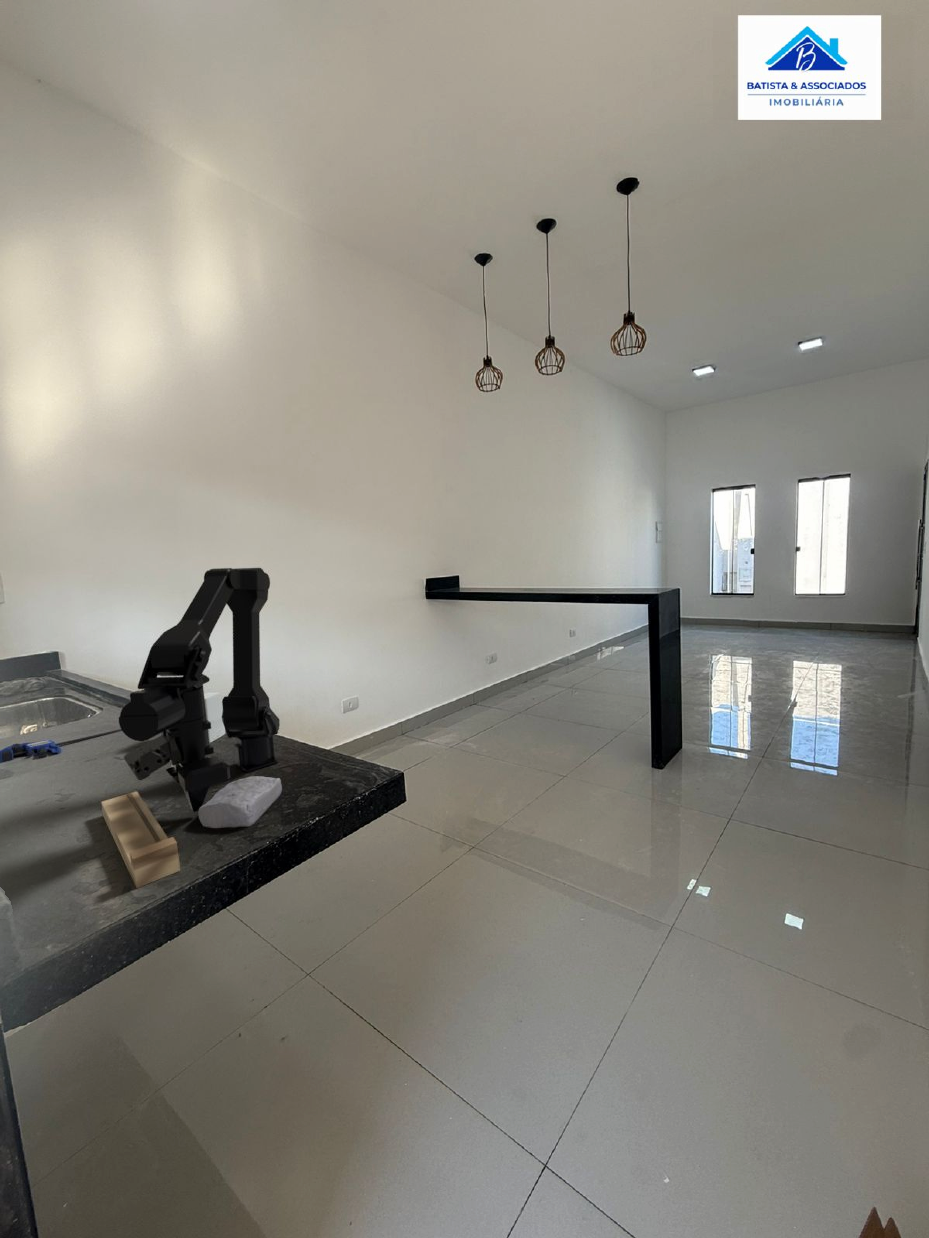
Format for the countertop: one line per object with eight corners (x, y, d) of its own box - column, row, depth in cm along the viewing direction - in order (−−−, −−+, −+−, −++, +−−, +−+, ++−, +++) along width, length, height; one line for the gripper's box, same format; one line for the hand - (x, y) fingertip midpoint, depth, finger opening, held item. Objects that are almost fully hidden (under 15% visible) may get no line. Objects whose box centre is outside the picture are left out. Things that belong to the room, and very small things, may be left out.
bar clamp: (3, 758, 104) (-7, 748, 110) (4, 769, 104) (-5, 759, 110) (171, 720, 129) (155, 713, 135) (171, 729, 129) (156, 722, 136)
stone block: (195, 839, 78) (255, 827, 77) (187, 810, 78) (246, 798, 77) (236, 804, 90) (288, 793, 89) (229, 778, 90) (281, 768, 89)
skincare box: (226, 733, 120) (222, 691, 119) (210, 743, 114) (205, 699, 113) (186, 733, 122) (181, 691, 120) (167, 743, 115) (162, 699, 114)
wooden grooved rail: (138, 804, 86) (135, 782, 86) (180, 870, 67) (176, 842, 67) (103, 815, 83) (99, 793, 82) (136, 888, 64) (132, 859, 63)
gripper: (114, 717, 81) (126, 809, 83) (139, 747, 67) (152, 855, 69) (190, 701, 88) (199, 786, 90) (226, 725, 75) (236, 824, 77)
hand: (196, 810), depth 81 cm, fingers closed
